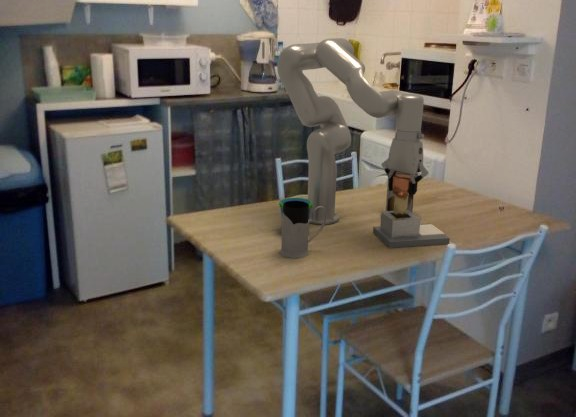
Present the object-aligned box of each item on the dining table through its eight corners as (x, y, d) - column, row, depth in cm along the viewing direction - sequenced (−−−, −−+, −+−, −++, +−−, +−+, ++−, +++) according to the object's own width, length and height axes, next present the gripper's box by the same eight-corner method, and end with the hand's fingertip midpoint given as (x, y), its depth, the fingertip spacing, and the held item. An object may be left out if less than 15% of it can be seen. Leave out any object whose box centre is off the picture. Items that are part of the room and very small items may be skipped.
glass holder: (275, 248, 187) (276, 201, 182) (319, 244, 192) (321, 197, 187) (285, 259, 179) (287, 210, 174) (330, 254, 184) (333, 206, 179)
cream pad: (421, 236, 194) (421, 235, 194) (409, 227, 203) (409, 225, 202) (444, 235, 196) (444, 233, 196) (431, 225, 205) (431, 224, 204)
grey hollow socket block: (391, 238, 192) (392, 220, 190) (380, 228, 200) (381, 211, 198) (418, 237, 194) (420, 219, 192) (406, 227, 203) (408, 209, 201)
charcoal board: (389, 248, 190) (390, 241, 189) (372, 232, 203) (373, 226, 202) (449, 244, 195) (449, 238, 194) (428, 229, 208) (429, 223, 207)
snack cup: (273, 224, 207) (274, 195, 204) (304, 223, 210) (305, 194, 207) (285, 241, 193) (285, 210, 190) (317, 239, 196) (318, 208, 192)
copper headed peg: (412, 222, 197) (417, 177, 192) (403, 227, 192) (407, 180, 187) (395, 218, 201) (399, 173, 196) (385, 222, 196) (389, 176, 191)
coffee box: (410, 212, 224) (414, 169, 219) (412, 218, 218) (416, 173, 213) (384, 211, 225) (388, 167, 220) (385, 216, 219) (389, 172, 214)
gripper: (439, 138, 185) (432, 195, 191) (388, 129, 195) (384, 184, 201) (427, 141, 180) (421, 201, 185) (376, 132, 190) (371, 189, 195)
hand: (402, 191), depth 193 cm, fingers closed on copper headed peg, 6 cm apart
